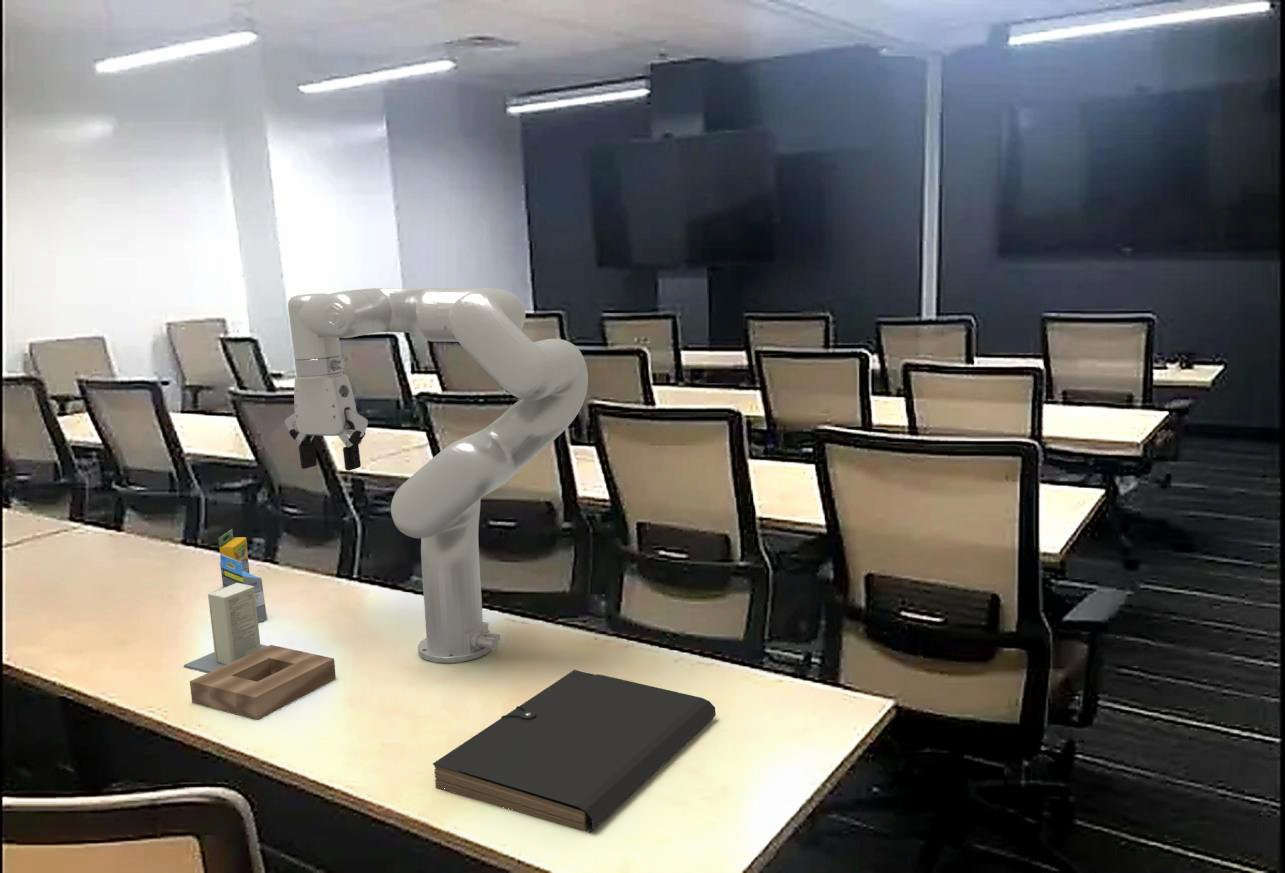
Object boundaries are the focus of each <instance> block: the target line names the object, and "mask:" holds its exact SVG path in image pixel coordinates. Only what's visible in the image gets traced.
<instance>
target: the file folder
mask: <svg viewBox="0 0 1285 873" xmlns="http://www.w3.org/2000/svg"><path fill="white" fill-rule="evenodd" d="M716 715H717V713H716V707H715V705H713V703H712V702H711V701H710V700H708V699H706V698H703V697H699V696H695V695H692V694H689V693H688V694H687V693H683V692H678V691H674V690H670V689H666V688H660V687H657V686H652V685H647V684H645V683H644V684H643V683H639V682H633V681H630V680H625V679H621V678H617V677H612V676H608V675H603V674H597V673H596V674H594V673H590V672H586V671H582V670H578V669H573V670H572V671H570V672H569V673H568V674H566V675H564V676H563V677H561V678H560V679H558V680H557V681H556V682H554V683H552V684H551V685H549V686H548V687H546V688H545V689H543V690H541V691H540V692H538V693H536V695H534V696H533V697H531V698H529V699H528V700H526V701H525V702H524V703H522V704H520V705H518V706H516V708H514V709H513V710H511V711H510V712H509V713H507V714H505V715H501V718H499V719H498V720H496V721H495V722H493V723H492V724H490V725H489V726H487V727H486V728H484V729H482V730H481V731H480V732H478V733H476V734H475V735H474V736H473V737H470V738H469V739H468V740H466V741H465V742H463V743H462V744H460V745H458V746H457V747H456V748H454V749H452V750H451V751H450V752H448V753H447V754H445V755H444V756H442V757H441V758H439V759H437V760H436V761H435V762H433V763H432V765H433V766H434V767H433V768H434V784H435V785H434V787H435V788H436V789H441V790H444V791H447V792H450V793H453V794H457V795H460V796H462V797H463V796H464V797H466V798H470V799H472V800H473V799H474V800H477V801H480V802H483V803H486V804H489V805H493V806H496V807H499V808H503V807H504V808H503V809H504V810H505V809H506V810H509V809H510V811H514V810H516V811H515V812H518V811H519V813H523V814H526V815H529V816H532V817H537V818H538V819H544V820H547V821H550V822H553V823H556V824H560V825H563V826H567V827H570V828H573V829H575V830H577V831H581V832H586V830H587V826H589V824H591V825H592V828H591V829H590V831H588V834H590V833H591V832H592V831H593V830H594V829H595V828H597V826H598V825H599V824H601V823H602V822H603V821H604V820H605V819H606V818H607V817H608V816H609V815H610V814H612V813H613V812H614V811H615V809H617V808H618V807H619V806H620V805H621V804H622V803H624V801H625V800H626V799H627V798H629V797H630V796H631V795H632V794H633V793H634V792H635V791H637V789H639V787H641V786H642V785H643V784H644V783H645V782H646V781H647V780H648V779H649V778H650V777H651V776H653V775H654V773H656V772H657V771H658V770H659V769H660V768H661V767H662V766H664V765H665V763H667V762H668V761H669V760H671V758H673V756H674V755H676V753H678V752H679V751H680V750H681V749H682V748H683V747H684V746H685V745H686V744H687V743H688V742H689V741H690V740H692V738H694V737H695V736H696V735H697V734H698V733H699V732H700V731H701V730H702V729H703V728H705V727H706V726H707V725H708V723H710V722H711V721H712V720H713V719H714V718H715V717H716ZM444 788H445V789H444ZM454 792H455V793H454ZM508 808H509V809H508ZM511 809H513V810H511Z"/></svg>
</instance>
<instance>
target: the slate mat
mask: <svg viewBox="0 0 1285 873" xmlns="http://www.w3.org/2000/svg"><path fill="white" fill-rule="evenodd" d="M260 646H261V649H263V648H265V647H267V646H268V645H266V644H262V643H260ZM225 665H226V664H222V663H219V662H216V660H215V651H213V652H211V653H208V654H206V655H204V656H202V657H199V658H197V659H195V660H192V661H190V662H188V663H185V664H183V668H185V669H189V668H190V669H189V670H193V669H194V671H197V670H198V671H199V672H201V673H202V672H203V673H205V674H207V673H209V672H211V671H214V670H216V669H218V668H220V667H222V666H225ZM198 671H197V672H198Z"/></svg>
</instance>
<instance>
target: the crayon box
mask: <svg viewBox="0 0 1285 873" xmlns="http://www.w3.org/2000/svg"><path fill="white" fill-rule="evenodd" d="M233 534H234V533H233V528H231V529H230V530H228V531H227V532H225V533H224V534H222V535H221V536H220V537H218V546H219V557H220V560H221V554H222V555H225V556H227V557H229V558H232V559H234V560H237V561H239V562H242V571H244V572H246V573H249V574H250V565H249V564H250V563H249V553H248V552H249V551H248V542H247V540H248V539H247V537H245V536H244V537H243V536H242V537H239V536H238V537H234V535H233ZM227 536H228V538H226V537H227ZM225 538H226V540H224V539H225ZM227 565H228V566H229V567H231V568H233V569H234V568H235V567H234V565H232V563H230V564H229V563H227Z"/></svg>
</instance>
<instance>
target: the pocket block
mask: <svg viewBox="0 0 1285 873" xmlns="http://www.w3.org/2000/svg"><path fill="white" fill-rule="evenodd" d="M266 646H267V647H265V648H263V649H260V650H258V651H256V652H254V653H252V654H249V655H247V656H245V657H243V658H240V659H238V660H236V661H234V662H231V663H229V664H227V665H225V666H222V667H220V668H218V669H216V670H214V671H211V672H209V673H204V674H202V675H201V676H198V677H196V678H194V679H191V680H189V687H190V695H191V703H192V704H195V705H199V706H202V707H203V706H204V707H207V708H211V709H214V710H219V711H222V712H225V713H226V712H227V713H230V714H234V715H237V716H241V717H245V718H249V719H253V720H256V721H258V720H259V719H262V718H264V717H265V716H267V715H269V714H271V713H273V712H275V711H277V710H279V709H282V708H283V707H285V706H287V705H289V704H291V703H292V702H294V701H296V700H298V699H300V698H302V697H304V696H306V695H308V694H310V693H311V692H314V691H316V690H317V689H320V688H322V687H323V686H325V685H328V684H329V683H332V682H333V681H335V680H336V679H337V676H336V665H335V658H334V657H333V658H332V657H329V656H326V655H325V656H324V655H320V654H315V653H310V652H306V651H301V650H296V649H292V648H287V647H282V646H277V645H274V644H270V645H266Z"/></svg>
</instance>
